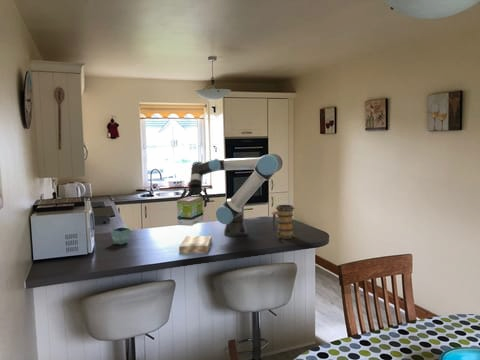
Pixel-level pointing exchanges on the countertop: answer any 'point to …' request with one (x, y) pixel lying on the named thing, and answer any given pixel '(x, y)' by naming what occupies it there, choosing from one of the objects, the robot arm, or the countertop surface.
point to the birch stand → (195, 244)
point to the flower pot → (120, 235)
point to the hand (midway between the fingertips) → (193, 211)
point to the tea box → (190, 211)
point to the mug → (283, 221)
